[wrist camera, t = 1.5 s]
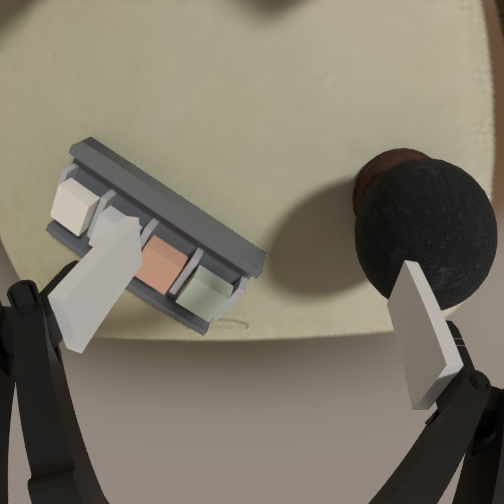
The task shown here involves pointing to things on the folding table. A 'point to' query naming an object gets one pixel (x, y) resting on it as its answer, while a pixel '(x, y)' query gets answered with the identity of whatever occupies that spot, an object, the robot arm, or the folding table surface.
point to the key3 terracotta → (160, 264)
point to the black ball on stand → (423, 224)
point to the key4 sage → (205, 294)
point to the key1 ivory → (74, 206)
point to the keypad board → (159, 228)
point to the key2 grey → (106, 224)
